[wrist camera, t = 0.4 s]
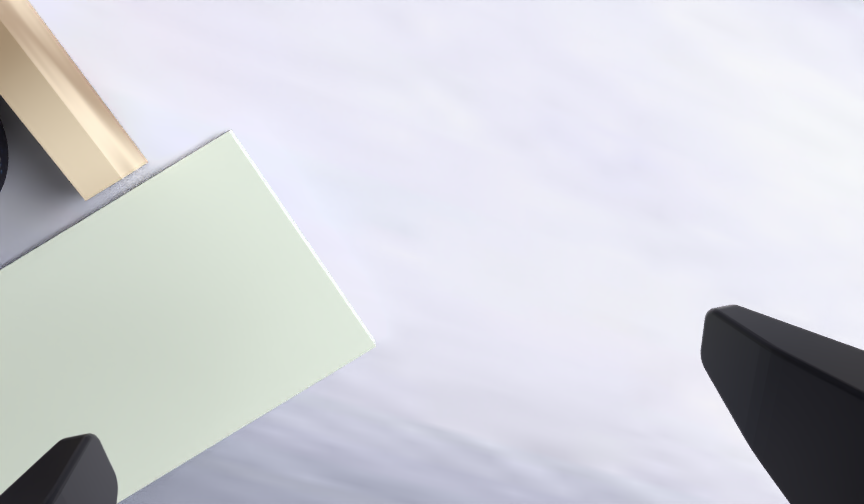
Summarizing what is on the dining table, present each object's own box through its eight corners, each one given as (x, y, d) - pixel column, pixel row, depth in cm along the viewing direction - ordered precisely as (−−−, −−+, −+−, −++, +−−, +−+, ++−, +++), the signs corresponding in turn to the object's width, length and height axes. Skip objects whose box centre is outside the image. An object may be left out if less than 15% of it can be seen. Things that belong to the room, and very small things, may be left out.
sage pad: (374, 339, 24) (376, 346, 24) (7, 561, 24) (0, 574, 24) (230, 129, 21) (228, 131, 21) (-187, 383, 21) (-201, 392, 21)
